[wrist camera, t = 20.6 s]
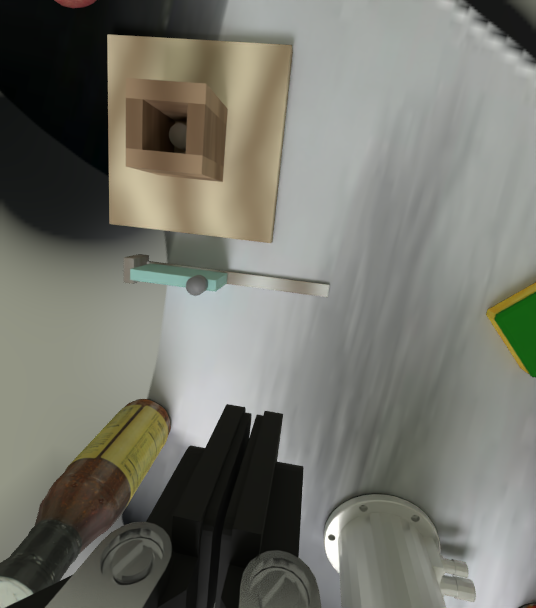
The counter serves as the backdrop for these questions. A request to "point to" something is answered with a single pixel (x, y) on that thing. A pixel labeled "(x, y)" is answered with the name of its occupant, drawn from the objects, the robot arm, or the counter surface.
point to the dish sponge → (518, 326)
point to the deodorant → (529, 606)
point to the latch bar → (180, 277)
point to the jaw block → (161, 117)
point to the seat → (238, 147)
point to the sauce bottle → (86, 499)
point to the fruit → (75, 3)
